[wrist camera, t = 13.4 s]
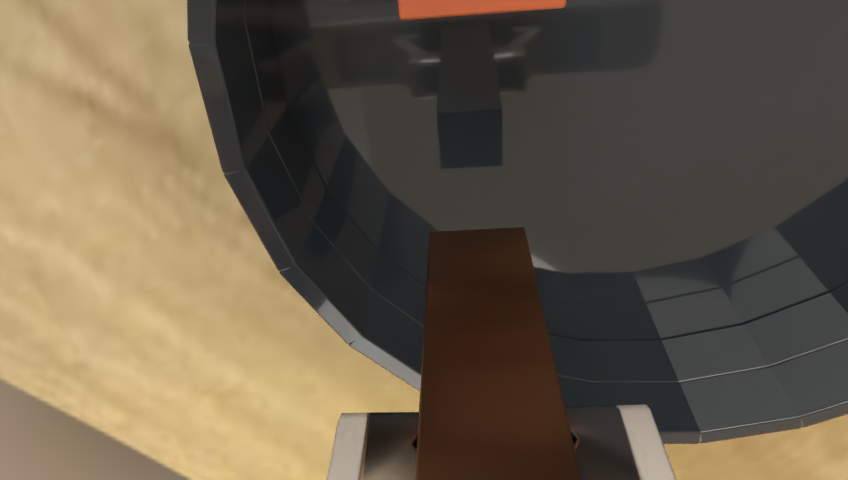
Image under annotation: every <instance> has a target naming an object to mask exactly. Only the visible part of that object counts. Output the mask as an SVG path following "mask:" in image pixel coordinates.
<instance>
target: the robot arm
mask: <svg viewBox="0 0 848 480" xmlns="http://www.w3.org/2000/svg"><path fill="white" fill-rule="evenodd" d="M565 409H566V413H567V418H568V422H569V427H570V431H571V435H572V440H573V444H574V449H575V453H576V458H577V462H578V467H579V471H580V475H581V480H676V478H675V475H674V472H673V470H672V467H671V464H670V461H669V459H668V456H667V453H666V451H665V448H664V445H663V442H662V440H661V437H660V434H659V431H658V429H657V426H656V423H655V421H654V418H653V415H652V412H651V410H650V408H649V407H648V406H647V405H617V406H615V405H599V406H576V407H565ZM418 420H419V412H397V413H342V414H341V416H340V418H339V420H338V423H337V428H336V433H335V439H334V444H333V449H332V454H331V460H330V465H329V470H328V475H327V480H415V471H416V454H417V437H418Z"/></svg>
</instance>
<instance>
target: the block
mask: <svg viewBox="0 0 848 480" xmlns="http://www.w3.org/2000/svg"><path fill="white" fill-rule="evenodd" d="M397 2H398V11H399V17H400V19H401V20H414V19H427V18H441V17H454V16H467V15H480V14H494V13H507V12H520V11H533V10H546V9H560V8H563V7H565V5H566V0H397Z"/></svg>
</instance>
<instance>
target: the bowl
mask: <svg viewBox="0 0 848 480" xmlns="http://www.w3.org/2000/svg"><path fill="white" fill-rule="evenodd" d="M187 23H188V41H189V42H190V43H189V49H190V53H191V56H192V60H193V64H194V67H195V71H196V75H197V79H198V82H199V86H200V90H201V93H202V97H203V101H204V104H205V108H206V112H207V116H208V119H209V123H210V127H211V130H212V134H213V138H214V142H215V145H216V149H217V153H218V156H219V160H220V164H221V168H222V171H223V172H224V176H225V178H226V179H227V181H228V183H229V185H230V187H231V188H232V190H233V192H234V194H235V195H236V197H237V199H238V201H239V202H240V204H241V206H242V208H243V209H244V211H245V213H246V215H247V216H248V218H249V220H250V222H251V224H252V225H253V227H254V229H255V231H256V232H257V234H258V236H259V238H260V239H261V241H262V243H263V245H264V246H265V248H266V250H267V252H268V253H269V255H270V257H271V259H272V261H273V262H274V264H275V266H276V268H277V269H278V271H280V274H281V275H282V276H283V277H284V278H285V279H286V280H287V281H288V283H289V284H290V285H291V286H292V287H293V288H294V289H295V290H296V291H297V292H298V293H299V294H300V295H301V296H302V297H303V298H304V299H305V300H306V301H307V302H308V303H309V304H310V306H311V307H312V308H313V309H314V310H315V311H316V312H317V313H318V314H319V315H320V316H321V317H322V318H323V319H324V320H325V321H326V322H327V323H328V324H329V325H330V326H331V327H332V329H333V330H334V331H335V332H336V333H337V334H338V335H339V336H340V337H341V338H342V339H343V340H344V341H345V342H346V343H347V344H349V346H351V347H352V348H354V349H355V350H357V351H359V352H360V353H362V354H363V355H365V356H366V357H368V358H369V359H371V360H372V361H374V362H375V363H377V364H379V365H380V366H382V367H383V368H385V369H386V370H388V371H389V372H391V373H392V374H394V375H396V376H397V377H399V378H400V379H402V380H403V381H405V382H406V383H408V384H409V385H411V386H412V387H414V388H416V389H417V390H419V391H420V386H421V369H422V352H423V335H424V318H425V301H426V284H427V267H428V250H429V234H430V232H439V231H458V230H477V229H496V228H515V227H524V228H525V231H526V236H527V240H528V245H529V249H530V253H531V258H532V262H533V267H534V271H535V276H536V280H537V285H538V289H539V293H540V298H541V302H542V307H543V311H544V316H545V320H546V325H547V329H548V333H549V338H550V342H551V347H552V351H553V356H554V360H555V364H556V369H557V373H558V378H559V382H560V387H561V391H562V396H563V400H564V404H565V407H576V406H599V405H615V406H617V405H647V406H648V407H649V408H650V410H651V412H652V415H653V418H654V421H655V423H656V426H657V429H658V431H659V434H660V437H661V440H662V442H663V444H698V443H708V442H715V441H721V440H728V439H734V438H741V437H747V436H754V435H760V434H767V433H773V432H780V431H786V430H793V429H799V428H801V427H807V426H810V425H814V424H817V423H820V422H824V421H827V420H830V419H833V418H837V417H840V416H843V415H846V414H848V0H566V5H565V7H563V8H560V9H546V10H533V11H520V12H507V13H494V14H480V15H467V16H454V17H441V18H427V19H414V20H401V19H400V17H399V11H398V2H397V0H187Z"/></svg>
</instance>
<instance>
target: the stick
mask: <svg viewBox="0 0 848 480" xmlns="http://www.w3.org/2000/svg"><path fill="white" fill-rule="evenodd" d="M415 480H581V475H580V471H579V467H578V462H577V458H576V453H575V449H574V444H573V440H572V435H571V431H570V427H569V422H568V418H567V413H566V409H565V404H564V400H563V396H562V391H561V387H560V382H559V378H558V373H557V369H556V364H555V360H554V356H553V351H552V347H551V342H550V338H549V333H548V329H547V325H546V320H545V316H544V311H543V307H542V302H541V298H540V293H539V289H538V285H537V280H536V276H535V271H534V267H533V262H532V258H531V253H530V249H529V245H528V240H527V236H526V231H525V228H524V227H515V228H496V229H477V230H458V231H439V232H430V234H429V250H428V267H427V284H426V301H425V318H424V335H423V352H422V369H421V386H420V403H419V420H418V437H417V454H416V471H415Z"/></svg>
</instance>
